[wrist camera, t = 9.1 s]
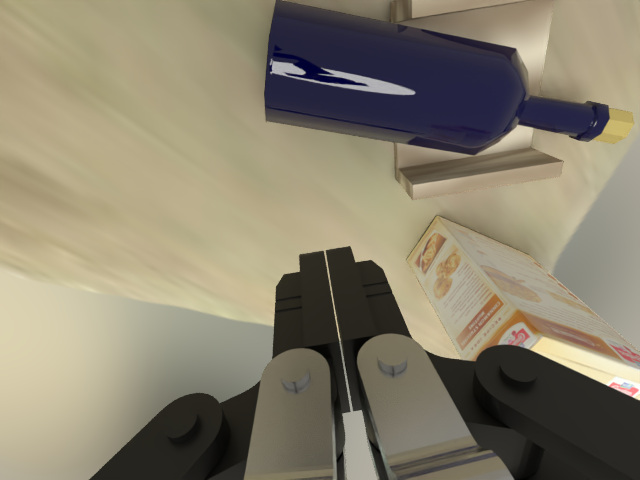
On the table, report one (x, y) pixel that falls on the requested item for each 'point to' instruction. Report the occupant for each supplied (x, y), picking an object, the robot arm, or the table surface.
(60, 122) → the table surface
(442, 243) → the coffeecake box
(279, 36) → the bottle
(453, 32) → the u rest
